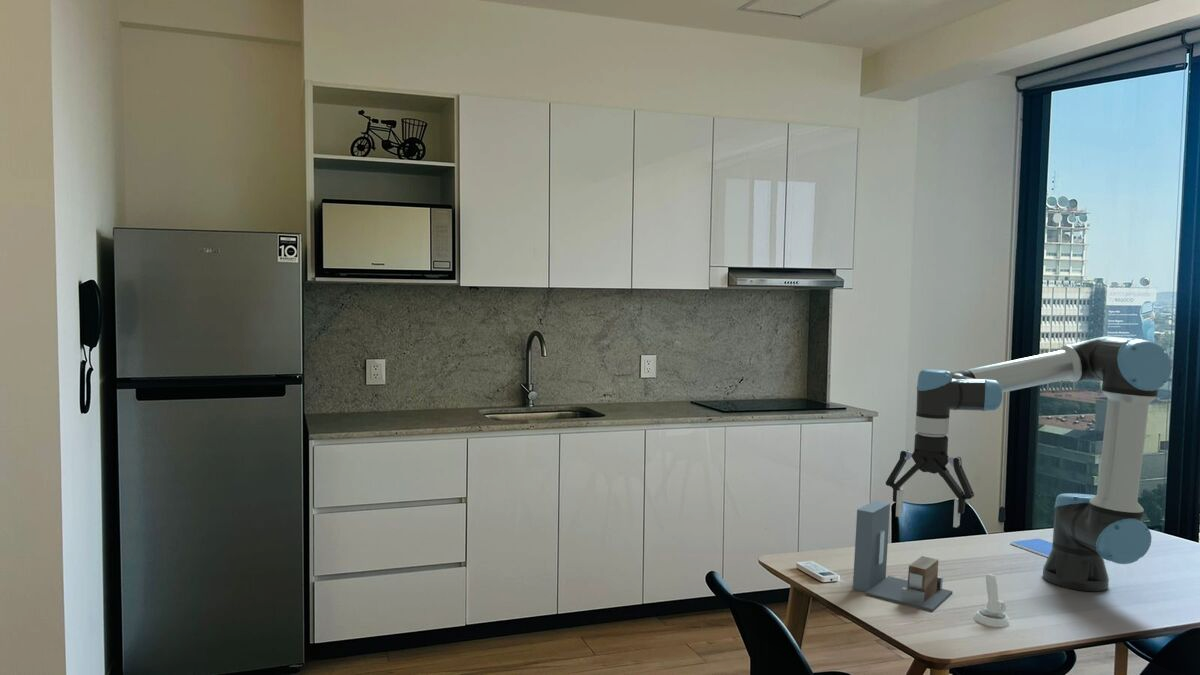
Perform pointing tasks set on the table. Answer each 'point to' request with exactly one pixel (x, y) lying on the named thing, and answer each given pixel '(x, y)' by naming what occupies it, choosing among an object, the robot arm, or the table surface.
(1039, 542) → the tablet computer
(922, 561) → the labeled wooden box
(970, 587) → the table surface
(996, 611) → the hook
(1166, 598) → the table surface
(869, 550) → the slotted tower stand
